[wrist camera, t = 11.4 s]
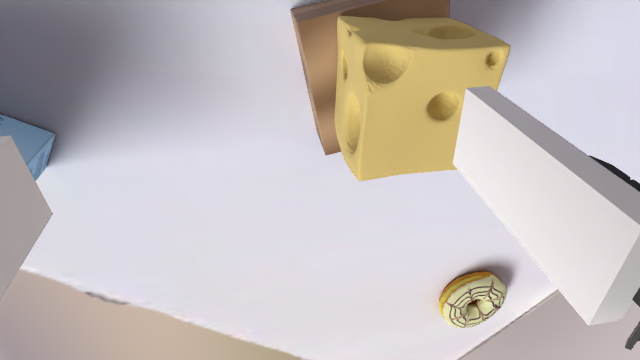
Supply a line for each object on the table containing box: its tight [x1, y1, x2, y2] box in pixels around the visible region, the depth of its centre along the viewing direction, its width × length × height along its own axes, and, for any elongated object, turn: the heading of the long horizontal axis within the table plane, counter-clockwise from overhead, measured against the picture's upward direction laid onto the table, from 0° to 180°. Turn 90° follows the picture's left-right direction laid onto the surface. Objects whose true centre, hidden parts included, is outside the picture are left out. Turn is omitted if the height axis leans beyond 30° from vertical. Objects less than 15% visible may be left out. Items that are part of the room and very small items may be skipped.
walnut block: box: [290, 0, 450, 155], centre depth 39 cm, size 13×13×6 cm
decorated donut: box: [439, 271, 507, 328], centre depth 63 cm, size 10×11×4 cm
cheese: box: [334, 16, 510, 181], centre depth 32 cm, size 10×11×10 cm
